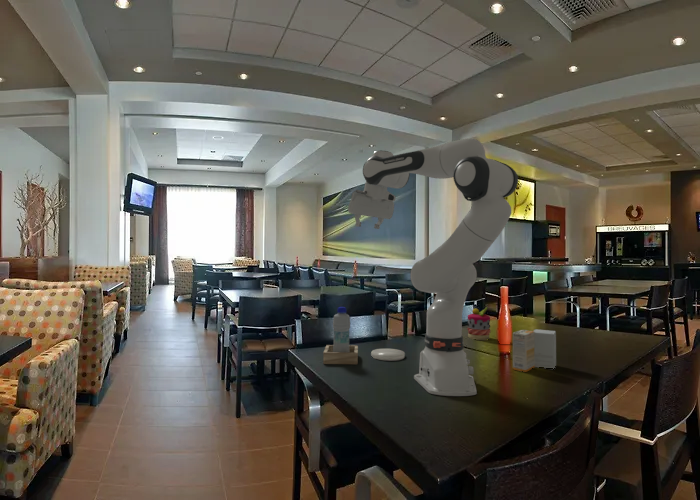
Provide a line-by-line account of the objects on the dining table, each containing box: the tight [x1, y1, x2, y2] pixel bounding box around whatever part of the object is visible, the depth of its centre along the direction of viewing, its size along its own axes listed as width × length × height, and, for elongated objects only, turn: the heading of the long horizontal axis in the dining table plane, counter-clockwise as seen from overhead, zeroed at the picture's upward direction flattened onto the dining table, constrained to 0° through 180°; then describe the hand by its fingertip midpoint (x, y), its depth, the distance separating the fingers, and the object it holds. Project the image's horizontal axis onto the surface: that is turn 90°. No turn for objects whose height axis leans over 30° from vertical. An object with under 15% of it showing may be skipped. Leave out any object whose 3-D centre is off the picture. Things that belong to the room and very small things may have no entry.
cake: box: [466, 306, 491, 341], centre depth 193 cm, size 10×11×15 cm
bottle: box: [332, 306, 351, 352], centre depth 152 cm, size 7×7×20 cm
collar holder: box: [322, 344, 359, 365], centre depth 152 cm, size 12×12×4 cm
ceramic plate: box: [370, 348, 406, 362], centre depth 157 cm, size 13×13×2 cm
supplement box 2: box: [533, 328, 557, 370], centre depth 146 cm, size 7×7×13 cm
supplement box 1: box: [512, 329, 536, 373], centre depth 142 cm, size 8×5×13 cm, turn 135°
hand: (367, 227), depth 159 cm, fingers open, 8 cm apart
